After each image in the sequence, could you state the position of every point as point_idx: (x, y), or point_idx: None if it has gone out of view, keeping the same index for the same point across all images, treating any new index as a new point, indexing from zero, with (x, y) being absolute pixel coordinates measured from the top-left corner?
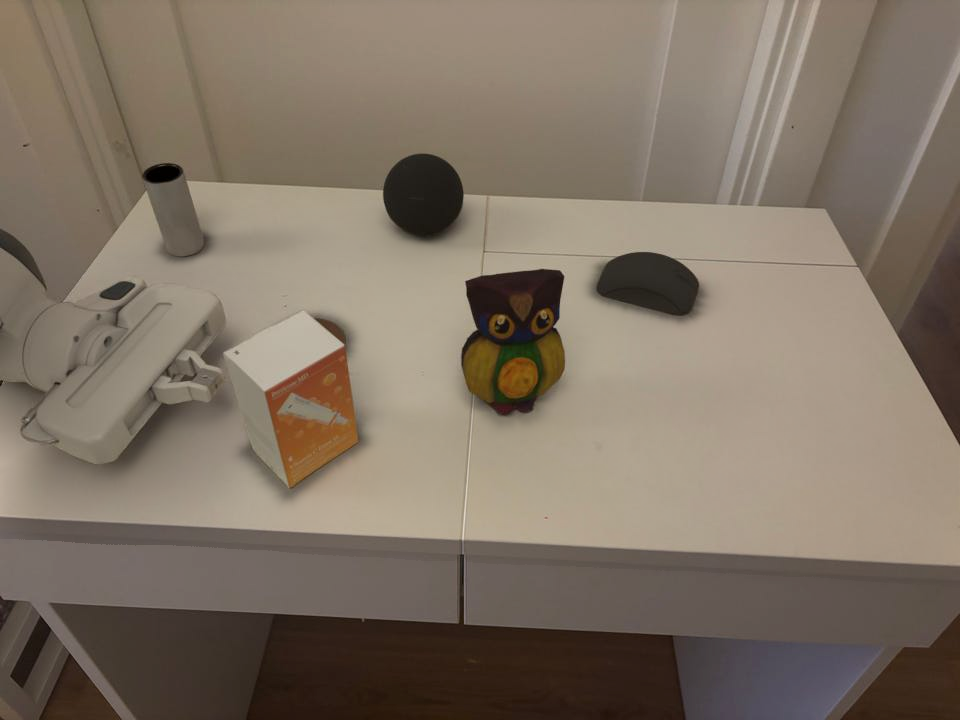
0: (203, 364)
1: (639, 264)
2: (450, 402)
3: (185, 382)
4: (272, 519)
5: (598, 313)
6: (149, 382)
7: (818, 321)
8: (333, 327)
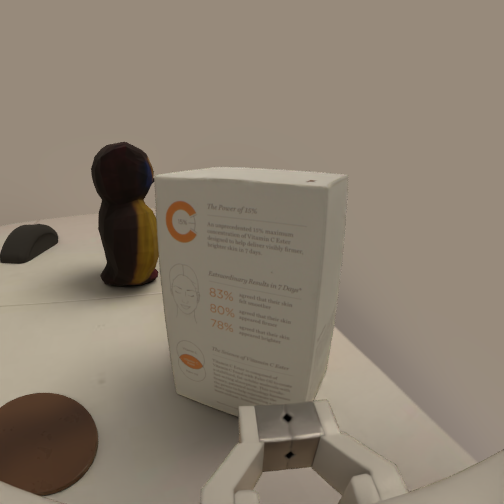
0: (245, 444)
1: (23, 230)
2: (142, 304)
3: (336, 441)
4: (368, 368)
5: (44, 261)
6: (422, 487)
7: (74, 221)
8: (7, 408)
